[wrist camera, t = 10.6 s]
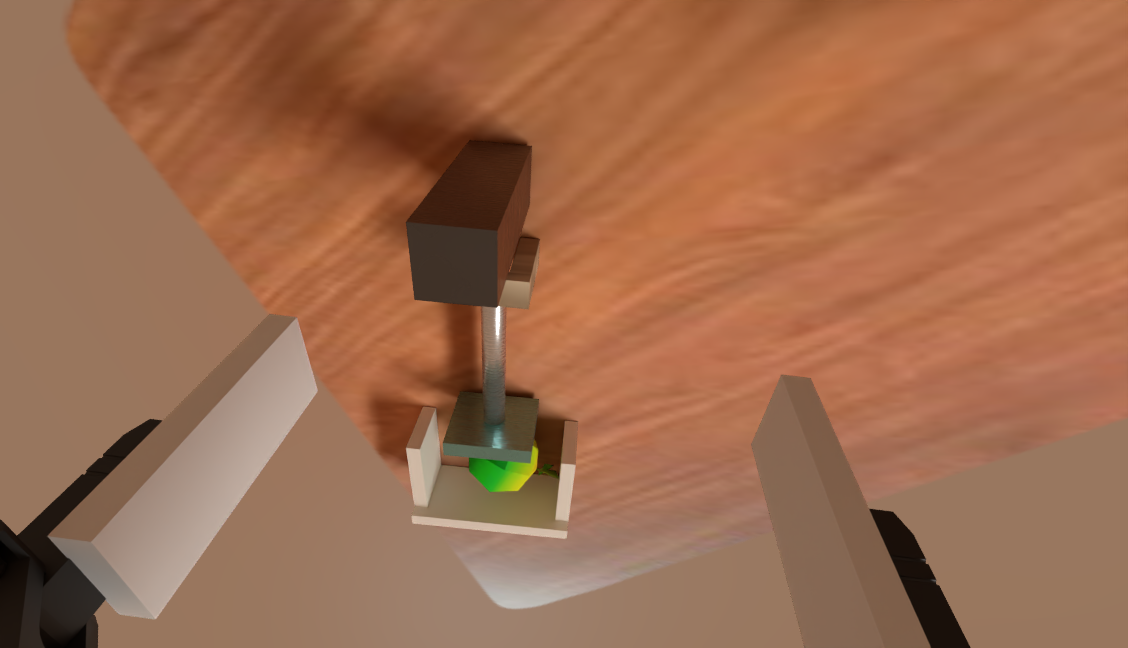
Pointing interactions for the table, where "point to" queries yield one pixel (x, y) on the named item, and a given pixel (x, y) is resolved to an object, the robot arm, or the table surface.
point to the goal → (470, 505)
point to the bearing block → (521, 275)
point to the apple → (506, 472)
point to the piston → (478, 285)
